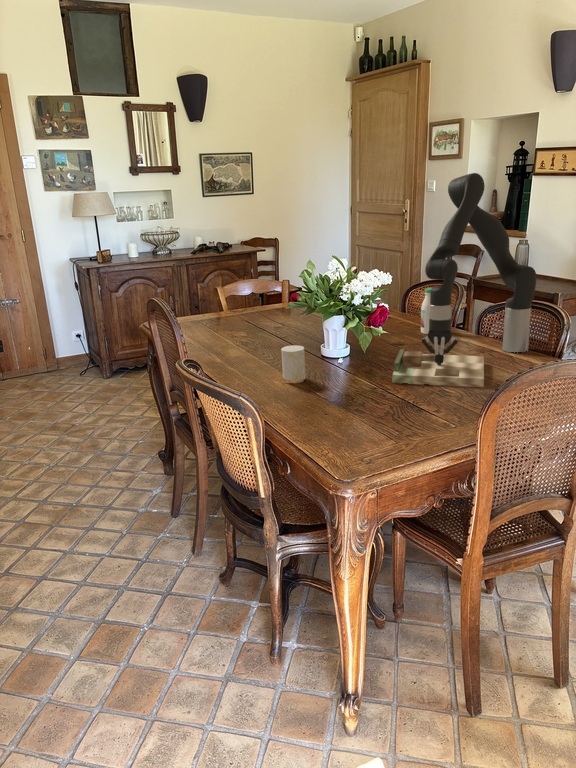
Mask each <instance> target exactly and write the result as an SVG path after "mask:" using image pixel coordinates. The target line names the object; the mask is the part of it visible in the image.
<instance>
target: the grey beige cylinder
mask: <svg viewBox="0 0 576 768" xmlns="http://www.w3.org/2000/svg"><path fill="white" fill-rule="evenodd" d="M280 352H281V365H282V379H283V378H284V379H286V380H291V381H299V380H303V379H305V378H307V377H306V362H305V361H306V358H305V357H306V356H305V346H303V345H296V344H295V345H286V346H283V347H282V348H281V351H280Z"/></svg>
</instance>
